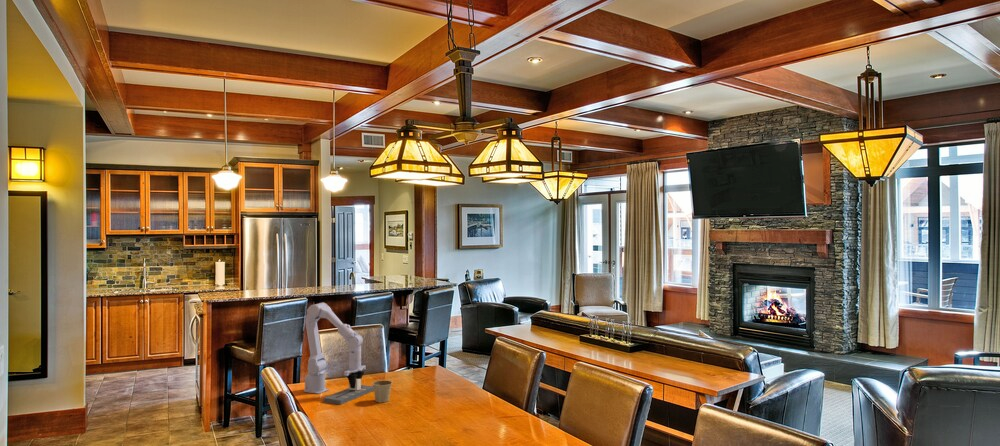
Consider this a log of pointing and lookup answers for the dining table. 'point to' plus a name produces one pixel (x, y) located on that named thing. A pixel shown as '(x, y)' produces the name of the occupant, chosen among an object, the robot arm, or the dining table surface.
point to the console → (348, 395)
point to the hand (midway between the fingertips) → (354, 387)
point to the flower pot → (382, 390)
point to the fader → (356, 385)
